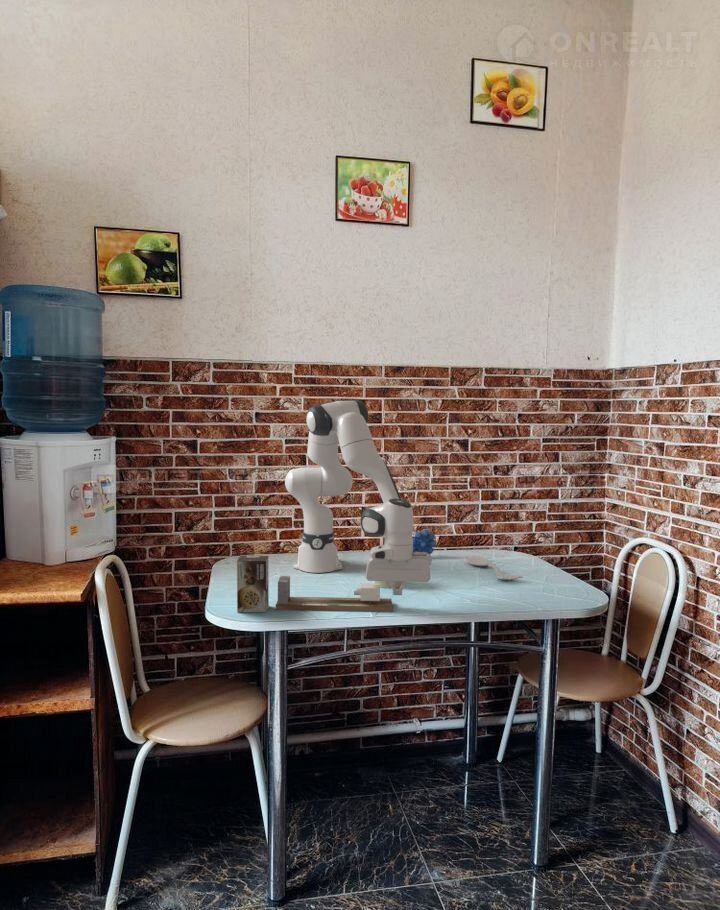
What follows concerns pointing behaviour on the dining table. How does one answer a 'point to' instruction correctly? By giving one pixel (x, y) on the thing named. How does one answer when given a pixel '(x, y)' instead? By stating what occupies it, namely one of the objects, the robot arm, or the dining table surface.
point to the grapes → (424, 542)
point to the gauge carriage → (368, 592)
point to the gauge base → (326, 601)
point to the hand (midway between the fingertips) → (397, 594)
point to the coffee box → (252, 584)
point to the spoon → (483, 562)
